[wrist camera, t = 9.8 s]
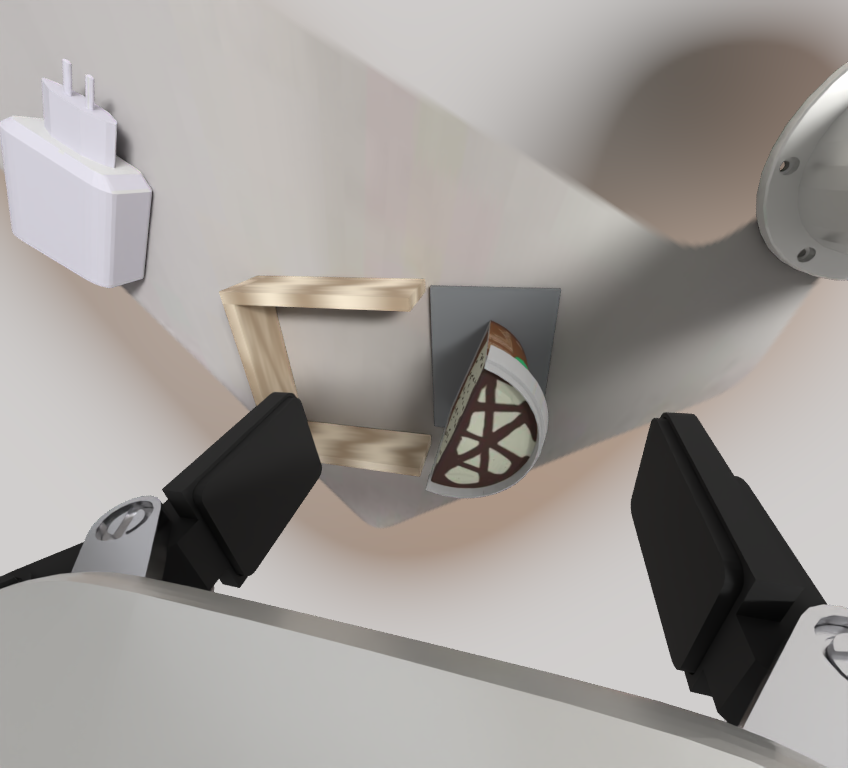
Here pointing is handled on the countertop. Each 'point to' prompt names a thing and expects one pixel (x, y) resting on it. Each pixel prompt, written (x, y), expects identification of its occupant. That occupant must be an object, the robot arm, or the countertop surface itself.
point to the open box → (272, 372)
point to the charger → (76, 186)
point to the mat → (466, 324)
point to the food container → (491, 422)
